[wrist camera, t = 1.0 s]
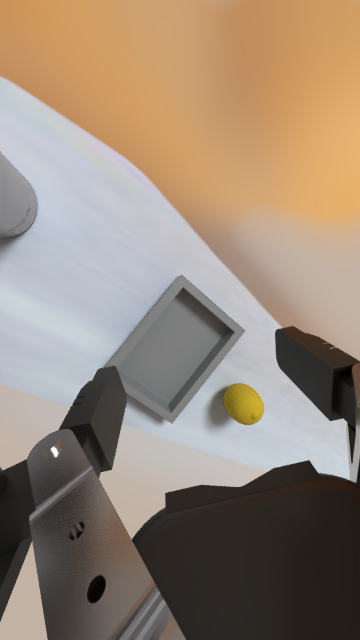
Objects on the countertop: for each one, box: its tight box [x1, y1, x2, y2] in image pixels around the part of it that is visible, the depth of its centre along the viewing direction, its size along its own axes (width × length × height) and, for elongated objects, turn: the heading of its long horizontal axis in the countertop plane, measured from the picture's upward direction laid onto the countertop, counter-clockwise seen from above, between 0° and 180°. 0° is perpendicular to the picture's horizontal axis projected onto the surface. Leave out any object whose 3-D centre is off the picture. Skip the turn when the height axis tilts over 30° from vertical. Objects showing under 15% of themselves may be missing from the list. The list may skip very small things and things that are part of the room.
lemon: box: [223, 384, 264, 425], centre depth 33 cm, size 6×6×8 cm
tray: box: [105, 275, 245, 423], centre depth 33 cm, size 13×18×3 cm
